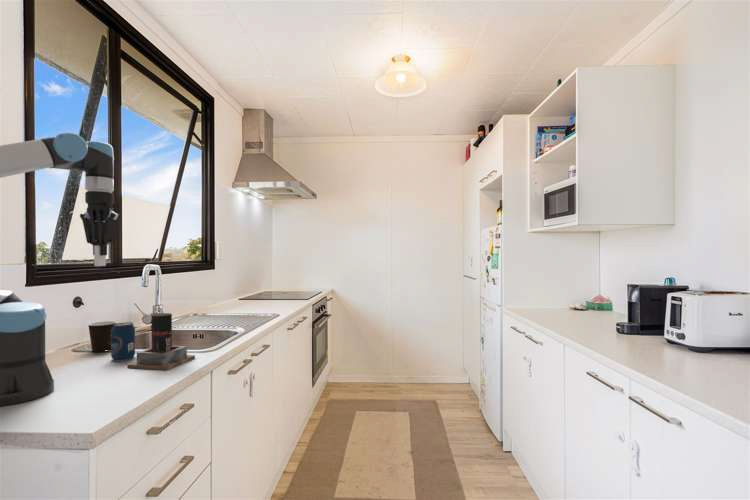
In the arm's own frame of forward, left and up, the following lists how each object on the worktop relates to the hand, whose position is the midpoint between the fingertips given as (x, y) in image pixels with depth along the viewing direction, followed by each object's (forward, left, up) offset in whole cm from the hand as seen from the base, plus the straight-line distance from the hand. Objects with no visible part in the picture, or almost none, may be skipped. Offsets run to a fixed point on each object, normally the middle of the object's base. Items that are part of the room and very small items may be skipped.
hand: (100, 265), depth 127 cm
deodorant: (+8, -16, -32) cm, 36 cm away
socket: (+8, -16, -32) cm, 37 cm away
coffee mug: (+20, +18, -33) cm, 42 cm away
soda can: (+10, +1, -33) cm, 34 cm away
